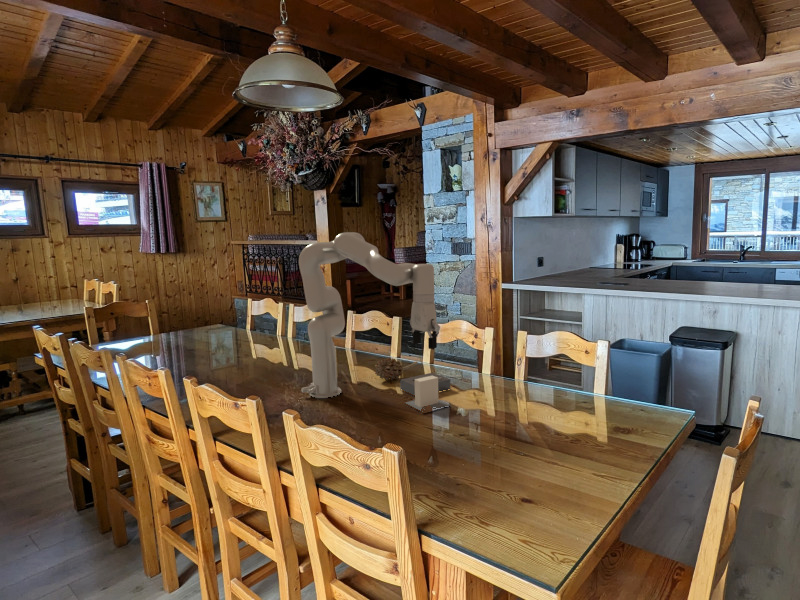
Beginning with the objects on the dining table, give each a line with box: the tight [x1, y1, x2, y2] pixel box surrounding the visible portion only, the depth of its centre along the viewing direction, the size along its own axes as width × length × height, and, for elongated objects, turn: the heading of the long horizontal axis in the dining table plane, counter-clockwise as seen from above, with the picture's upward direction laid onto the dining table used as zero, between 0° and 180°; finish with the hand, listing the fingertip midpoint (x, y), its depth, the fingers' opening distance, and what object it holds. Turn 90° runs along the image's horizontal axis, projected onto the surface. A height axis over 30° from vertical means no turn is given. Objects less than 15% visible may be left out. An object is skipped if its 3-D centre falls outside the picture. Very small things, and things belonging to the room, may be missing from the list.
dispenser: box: [399, 372, 451, 395], centre depth 200 cm, size 16×12×5 cm
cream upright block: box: [414, 376, 439, 407], centre depth 182 cm, size 8×4×10 cm, turn 123°
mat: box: [404, 399, 451, 412], centre depth 183 cm, size 12×12×1 cm
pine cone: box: [374, 357, 418, 381], centre depth 217 cm, size 22×10×10 cm, turn 129°
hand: (424, 345), depth 180 cm, fingers open, 9 cm apart
